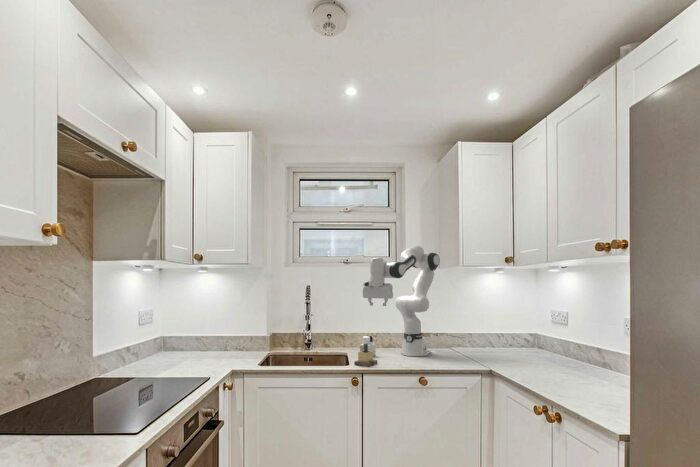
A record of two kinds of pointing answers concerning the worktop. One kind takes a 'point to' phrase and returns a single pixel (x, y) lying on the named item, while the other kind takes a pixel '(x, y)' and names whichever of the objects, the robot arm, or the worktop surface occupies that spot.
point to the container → (370, 344)
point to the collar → (365, 356)
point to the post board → (364, 363)
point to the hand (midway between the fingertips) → (377, 305)
